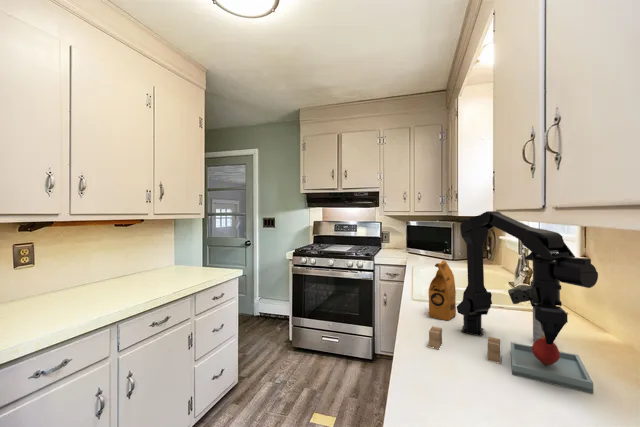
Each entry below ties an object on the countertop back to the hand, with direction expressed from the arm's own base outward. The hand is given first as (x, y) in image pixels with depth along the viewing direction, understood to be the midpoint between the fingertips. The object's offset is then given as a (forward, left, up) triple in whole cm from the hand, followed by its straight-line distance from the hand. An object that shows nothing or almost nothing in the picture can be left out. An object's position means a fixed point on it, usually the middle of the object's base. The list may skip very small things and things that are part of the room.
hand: (546, 337), depth 78 cm
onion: (0, 0, -8) cm, 8 cm away
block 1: (0, -28, -9) cm, 29 cm away
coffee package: (-30, -31, -9) cm, 44 cm away
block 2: (0, -12, -9) cm, 15 cm away
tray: (0, 0, -8) cm, 9 cm away
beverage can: (-19, +1, -9) cm, 21 cm away
